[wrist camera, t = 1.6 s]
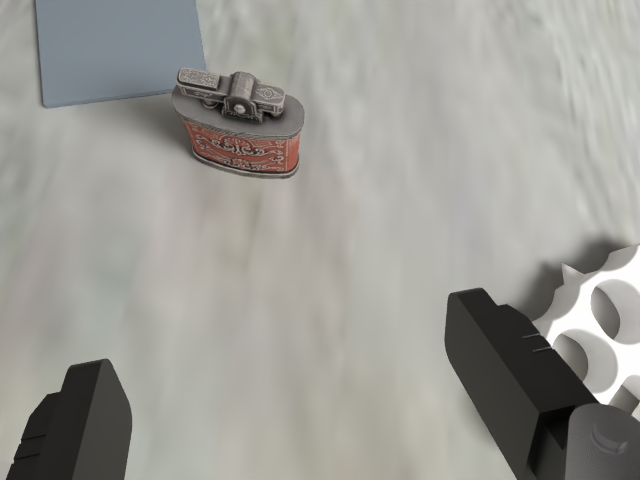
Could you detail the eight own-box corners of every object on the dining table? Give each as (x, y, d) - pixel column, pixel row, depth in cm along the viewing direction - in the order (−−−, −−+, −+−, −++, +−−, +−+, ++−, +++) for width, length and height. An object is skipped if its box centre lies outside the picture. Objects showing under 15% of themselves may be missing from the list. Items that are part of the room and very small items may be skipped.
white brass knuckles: (614, 539, 32) (451, 386, 34) (743, 341, 37) (592, 212, 38) (652, 560, 29) (470, 389, 31) (788, 340, 33) (621, 198, 35)
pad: (188, -42, 40) (187, -47, 39) (208, 87, 37) (207, 84, 37) (36, -28, 38) (33, -32, 38) (46, 108, 36) (43, 104, 35)
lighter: (303, 145, 37) (311, 70, 27) (295, 186, 36) (300, 124, 26) (199, 124, 36) (170, 41, 27) (188, 165, 36) (154, 95, 26)
